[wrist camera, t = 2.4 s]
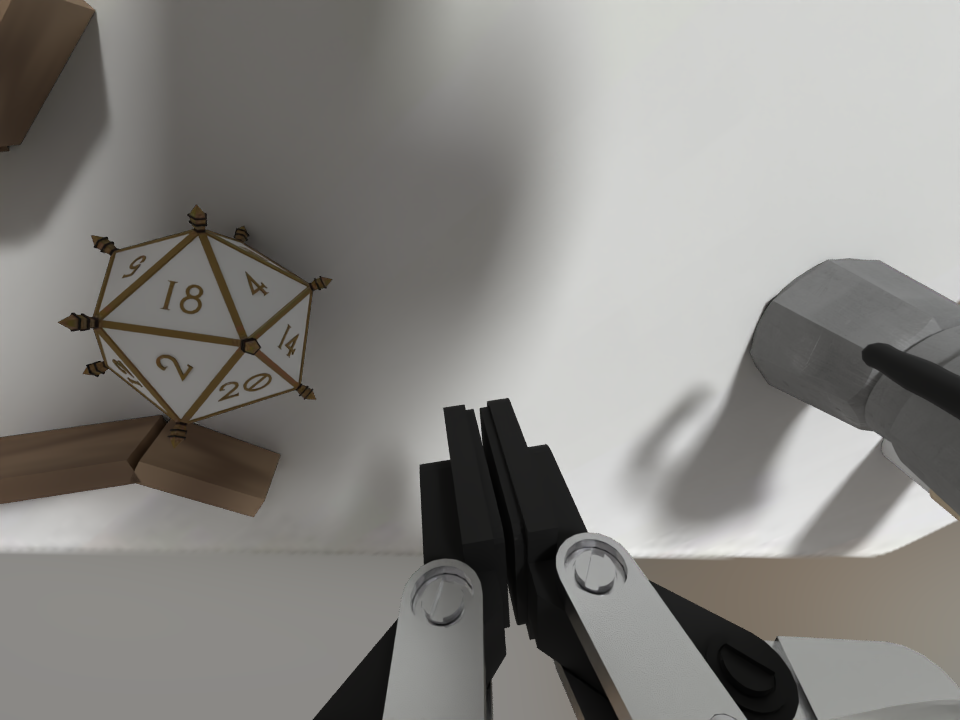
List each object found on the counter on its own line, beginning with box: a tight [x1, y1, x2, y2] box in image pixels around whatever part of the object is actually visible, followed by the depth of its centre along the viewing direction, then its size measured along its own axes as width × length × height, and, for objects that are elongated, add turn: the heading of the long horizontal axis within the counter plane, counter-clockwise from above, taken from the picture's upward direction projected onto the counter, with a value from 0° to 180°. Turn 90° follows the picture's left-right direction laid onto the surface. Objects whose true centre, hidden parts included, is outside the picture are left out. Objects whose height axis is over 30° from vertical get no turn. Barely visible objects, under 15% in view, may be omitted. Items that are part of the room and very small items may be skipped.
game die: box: [58, 204, 332, 448], centre depth 17 cm, size 9×8×10 cm
